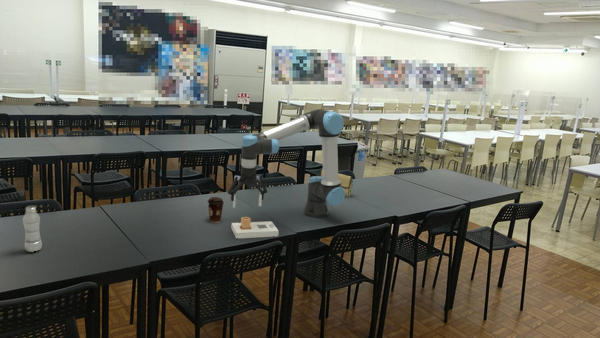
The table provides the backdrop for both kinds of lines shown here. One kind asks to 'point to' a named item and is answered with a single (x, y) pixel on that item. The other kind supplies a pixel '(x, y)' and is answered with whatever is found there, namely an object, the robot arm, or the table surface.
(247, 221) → the tan rectangular block
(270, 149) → the robot arm
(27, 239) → the plastic bottle
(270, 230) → the socket box
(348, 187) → the clutch purse
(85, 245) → the table surface
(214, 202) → the coffee cup
